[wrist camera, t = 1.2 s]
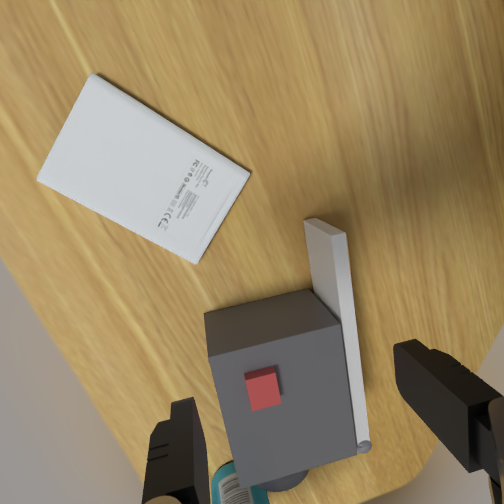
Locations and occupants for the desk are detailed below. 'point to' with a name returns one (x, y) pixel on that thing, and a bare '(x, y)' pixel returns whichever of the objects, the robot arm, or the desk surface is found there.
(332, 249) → the door
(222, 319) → the camera body
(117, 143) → the external hard drive
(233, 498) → the tube
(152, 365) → the desk surface
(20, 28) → the desk surface
